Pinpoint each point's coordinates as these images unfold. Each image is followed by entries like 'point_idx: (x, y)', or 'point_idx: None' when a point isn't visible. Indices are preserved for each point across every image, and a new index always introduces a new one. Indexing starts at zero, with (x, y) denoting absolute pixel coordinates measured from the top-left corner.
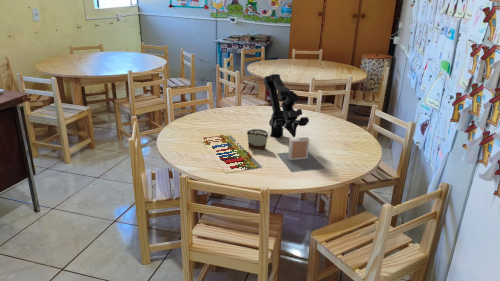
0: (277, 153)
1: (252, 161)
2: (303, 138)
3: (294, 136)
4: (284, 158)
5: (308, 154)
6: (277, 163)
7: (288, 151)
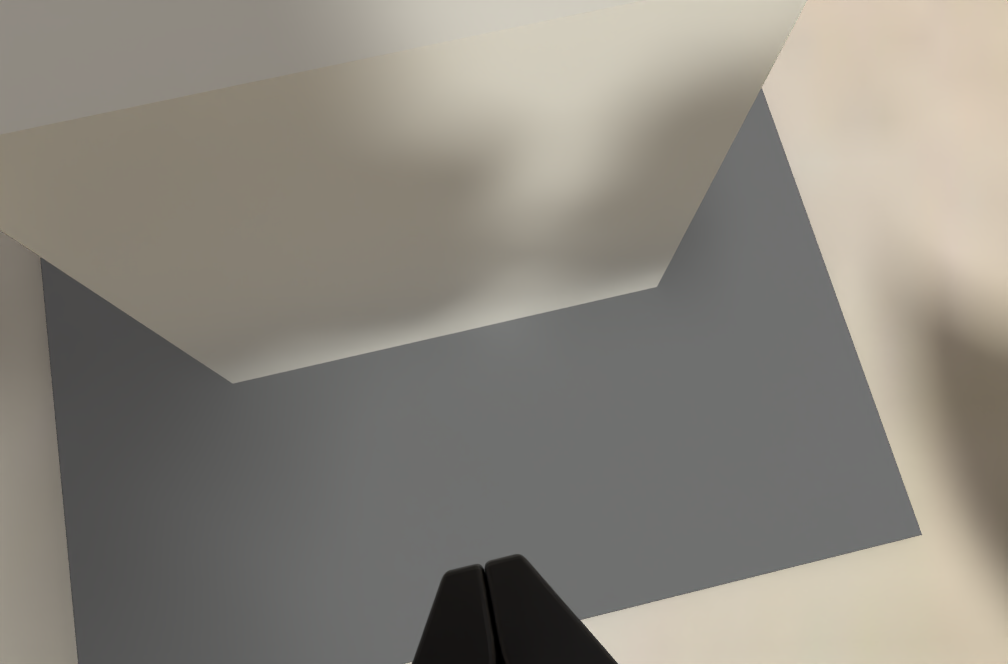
0: (898, 536)
1: None
2: (142, 9)
3: (490, 565)
4: (736, 264)
5: (129, 499)
6: (882, 74)
7: (690, 221)
